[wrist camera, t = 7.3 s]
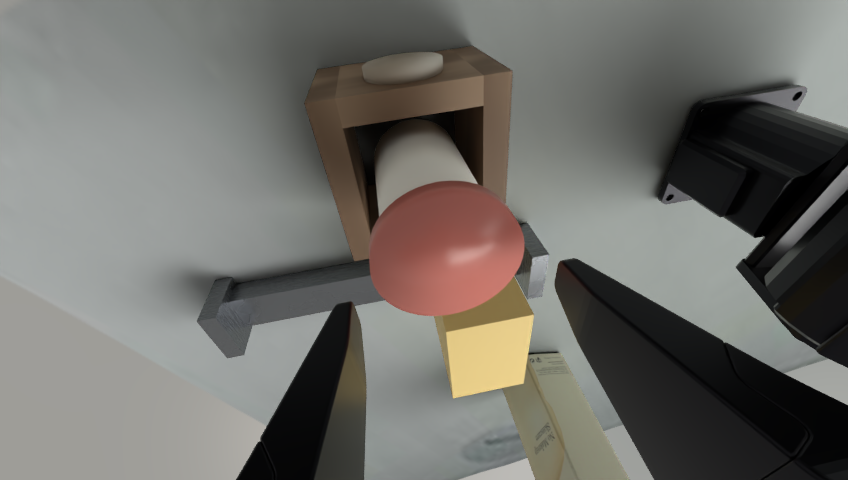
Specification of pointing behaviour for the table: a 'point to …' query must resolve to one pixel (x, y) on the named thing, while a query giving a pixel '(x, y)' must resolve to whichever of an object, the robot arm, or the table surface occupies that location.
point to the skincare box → (560, 424)
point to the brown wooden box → (404, 98)
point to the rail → (320, 295)
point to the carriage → (487, 343)
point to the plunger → (437, 226)
